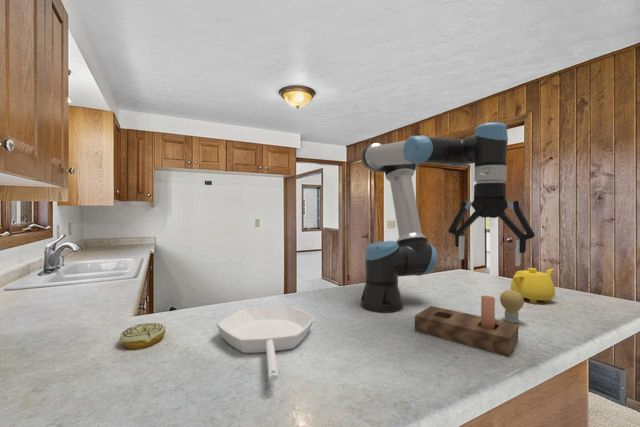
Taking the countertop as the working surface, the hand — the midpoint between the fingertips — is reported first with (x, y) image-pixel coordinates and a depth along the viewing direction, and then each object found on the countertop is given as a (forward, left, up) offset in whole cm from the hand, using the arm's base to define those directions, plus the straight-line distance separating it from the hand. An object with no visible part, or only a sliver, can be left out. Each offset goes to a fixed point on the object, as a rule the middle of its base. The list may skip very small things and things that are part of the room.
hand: (488, 262), depth 82 cm
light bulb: (+2, +21, -22) cm, 30 cm away
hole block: (-6, 0, -21) cm, 22 cm away
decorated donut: (-70, -61, -22) cm, 95 cm away
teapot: (+4, +55, -22) cm, 59 cm away
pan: (-41, -41, -22) cm, 62 cm away
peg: (0, 0, -21) cm, 21 cm away
